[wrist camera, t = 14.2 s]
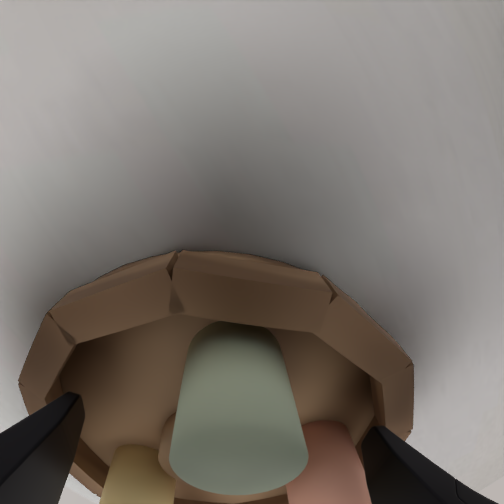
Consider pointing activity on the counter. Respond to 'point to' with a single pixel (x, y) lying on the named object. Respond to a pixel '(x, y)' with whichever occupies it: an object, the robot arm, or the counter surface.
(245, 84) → the counter surface
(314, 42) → the counter surface
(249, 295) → the groove tray
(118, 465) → the bead mustard
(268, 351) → the bead sage
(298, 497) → the bead coral
